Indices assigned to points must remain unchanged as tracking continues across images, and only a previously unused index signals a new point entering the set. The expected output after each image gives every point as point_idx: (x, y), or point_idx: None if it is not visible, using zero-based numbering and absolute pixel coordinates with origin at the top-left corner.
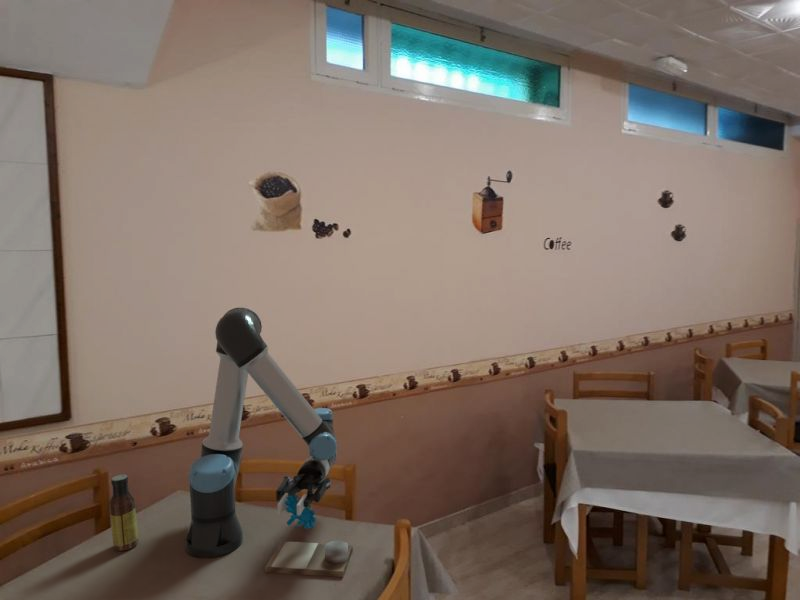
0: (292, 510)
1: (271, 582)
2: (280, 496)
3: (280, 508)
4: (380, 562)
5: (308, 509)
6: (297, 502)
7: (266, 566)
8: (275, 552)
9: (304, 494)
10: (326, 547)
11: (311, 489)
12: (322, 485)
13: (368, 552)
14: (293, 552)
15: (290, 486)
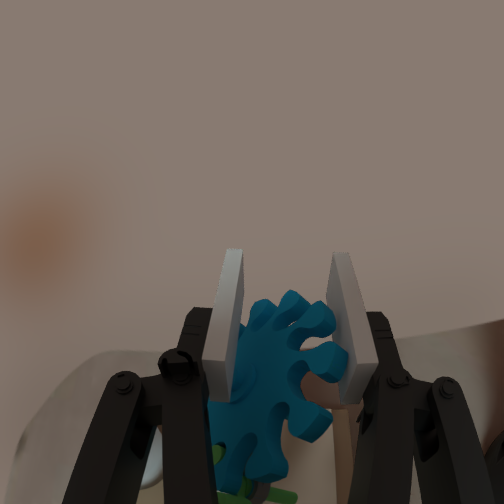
0: (276, 310)
1: (309, 382)
2: (396, 353)
3: (330, 273)
4: (33, 442)
5: (211, 442)
6: (274, 388)
7: (345, 410)
8: (350, 478)
9: (217, 347)
10: (155, 440)
11: (169, 438)
12: (72, 498)
13: (51, 494)
14: (286, 483)
15: (397, 481)
